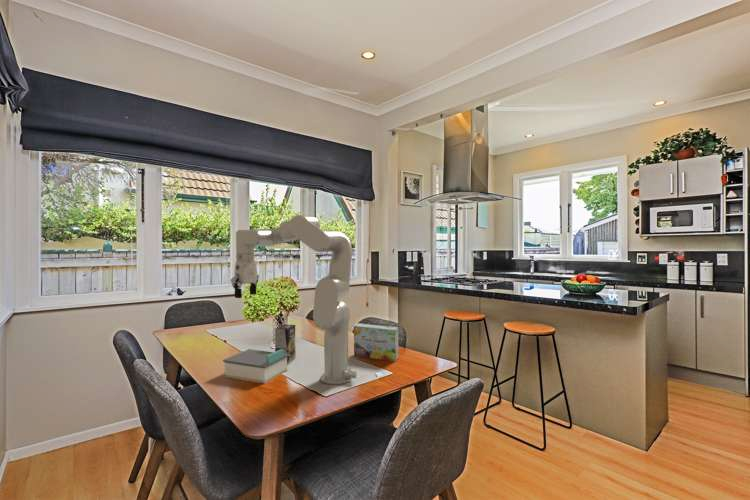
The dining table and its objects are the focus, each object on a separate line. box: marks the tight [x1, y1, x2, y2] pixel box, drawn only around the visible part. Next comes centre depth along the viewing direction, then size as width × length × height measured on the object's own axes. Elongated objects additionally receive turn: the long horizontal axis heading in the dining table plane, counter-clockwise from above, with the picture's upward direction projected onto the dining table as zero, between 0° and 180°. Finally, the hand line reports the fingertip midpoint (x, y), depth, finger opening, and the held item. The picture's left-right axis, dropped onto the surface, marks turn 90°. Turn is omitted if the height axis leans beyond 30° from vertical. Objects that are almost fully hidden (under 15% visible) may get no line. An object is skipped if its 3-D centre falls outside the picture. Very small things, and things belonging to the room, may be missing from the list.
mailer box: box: [224, 357, 288, 384], centre depth 159 cm, size 20×15×6 cm
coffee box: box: [274, 324, 297, 365], centre depth 174 cm, size 9×6×16 cm
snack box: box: [353, 323, 399, 362], centre depth 179 cm, size 21×6×15 cm, turn 68°
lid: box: [222, 348, 288, 368], centre depth 158 cm, size 21×16×4 cm
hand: (245, 296), depth 168 cm, fingers open, 9 cm apart
